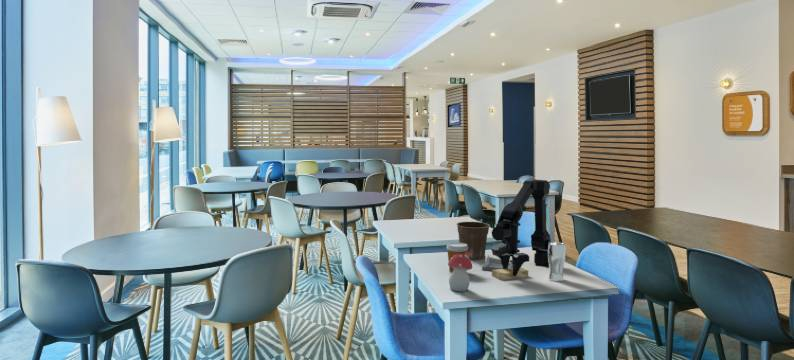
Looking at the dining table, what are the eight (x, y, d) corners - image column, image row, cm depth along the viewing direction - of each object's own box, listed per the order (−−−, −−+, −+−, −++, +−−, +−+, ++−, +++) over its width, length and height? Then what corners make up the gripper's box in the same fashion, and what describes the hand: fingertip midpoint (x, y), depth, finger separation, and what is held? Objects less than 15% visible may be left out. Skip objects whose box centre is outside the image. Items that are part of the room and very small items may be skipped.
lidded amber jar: (470, 270, 213) (471, 243, 212) (464, 275, 204) (464, 247, 203) (449, 267, 217) (450, 241, 216) (442, 273, 208) (443, 245, 207)
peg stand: (517, 268, 217) (517, 256, 216) (517, 272, 210) (517, 260, 209) (483, 266, 220) (483, 254, 220) (482, 270, 213) (482, 257, 213)
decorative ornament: (474, 290, 185) (475, 251, 184) (466, 294, 180) (467, 254, 178) (453, 285, 190) (453, 248, 189) (444, 289, 185) (445, 251, 184)
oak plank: (519, 273, 209) (520, 267, 209) (528, 277, 204) (528, 270, 204) (491, 276, 205) (491, 269, 204) (499, 280, 199) (499, 273, 199)
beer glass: (564, 278, 202) (565, 242, 201) (564, 282, 195) (566, 246, 194) (547, 276, 204) (548, 241, 203) (546, 280, 198) (547, 244, 196)
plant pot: (491, 261, 229) (492, 227, 228) (457, 260, 230) (458, 227, 228) (486, 253, 246) (486, 221, 244) (454, 252, 246) (454, 221, 245)
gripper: (482, 234, 209) (481, 269, 210) (507, 243, 191) (506, 281, 193) (504, 232, 213) (503, 267, 214) (530, 241, 195) (529, 279, 197)
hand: (509, 273), depth 204 cm, fingers open, 7 cm apart
